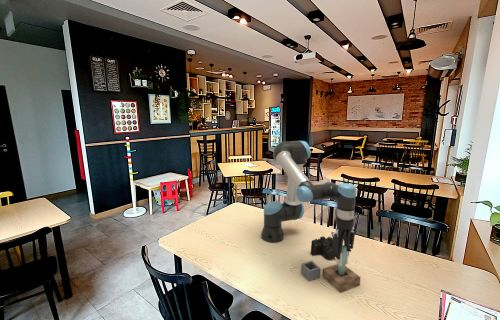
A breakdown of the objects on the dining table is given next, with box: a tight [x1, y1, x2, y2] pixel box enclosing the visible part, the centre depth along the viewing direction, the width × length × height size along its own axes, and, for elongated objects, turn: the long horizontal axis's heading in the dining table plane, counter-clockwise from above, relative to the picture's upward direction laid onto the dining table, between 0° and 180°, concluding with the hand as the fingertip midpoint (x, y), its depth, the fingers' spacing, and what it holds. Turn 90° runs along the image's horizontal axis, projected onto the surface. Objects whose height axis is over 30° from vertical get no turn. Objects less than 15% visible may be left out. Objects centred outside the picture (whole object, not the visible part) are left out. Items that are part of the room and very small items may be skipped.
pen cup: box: [300, 260, 321, 282], centre depth 117 cm, size 7×7×6 cm
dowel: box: [338, 244, 347, 277], centre depth 111 cm, size 3×3×16 cm
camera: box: [310, 235, 336, 261], centre depth 134 cm, size 14×11×10 cm
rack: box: [321, 263, 361, 294], centre depth 113 cm, size 12×12×5 cm
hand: (341, 263), depth 111 cm, fingers closed on dowel, 3 cm apart
